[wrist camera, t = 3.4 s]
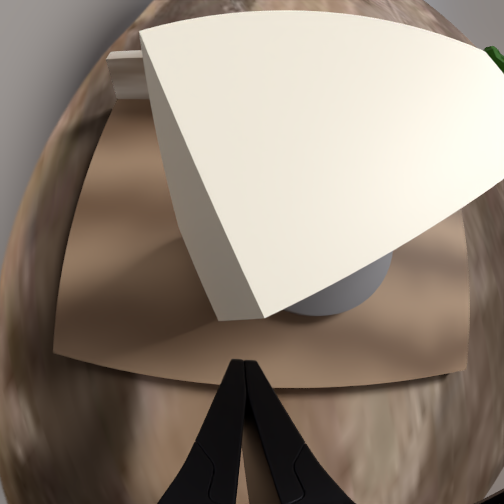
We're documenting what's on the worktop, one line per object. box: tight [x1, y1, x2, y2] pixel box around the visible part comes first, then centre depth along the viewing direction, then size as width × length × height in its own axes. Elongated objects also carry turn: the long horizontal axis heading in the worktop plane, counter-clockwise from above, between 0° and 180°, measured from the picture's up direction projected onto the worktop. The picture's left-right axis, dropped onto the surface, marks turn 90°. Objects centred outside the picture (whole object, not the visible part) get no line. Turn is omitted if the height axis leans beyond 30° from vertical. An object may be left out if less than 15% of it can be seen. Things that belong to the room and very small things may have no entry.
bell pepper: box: [483, 46, 504, 74], centre depth 27 cm, size 8×8×10 cm
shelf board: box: [53, 50, 470, 388], centre depth 15 cm, size 18×28×6 cm, turn 85°
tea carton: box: [139, 10, 504, 321], centre depth 11 cm, size 10×14×12 cm
